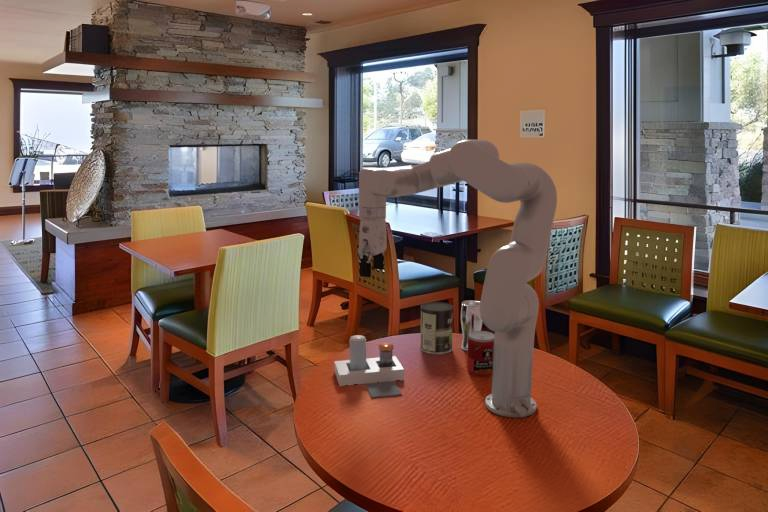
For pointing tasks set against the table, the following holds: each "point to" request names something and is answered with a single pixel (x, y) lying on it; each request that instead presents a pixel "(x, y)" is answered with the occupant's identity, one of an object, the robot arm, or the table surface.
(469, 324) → the beer glass
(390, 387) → the mat
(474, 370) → the canned food
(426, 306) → the coffee can
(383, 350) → the plunger
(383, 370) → the housing
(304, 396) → the table surface
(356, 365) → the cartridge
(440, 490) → the table surface
